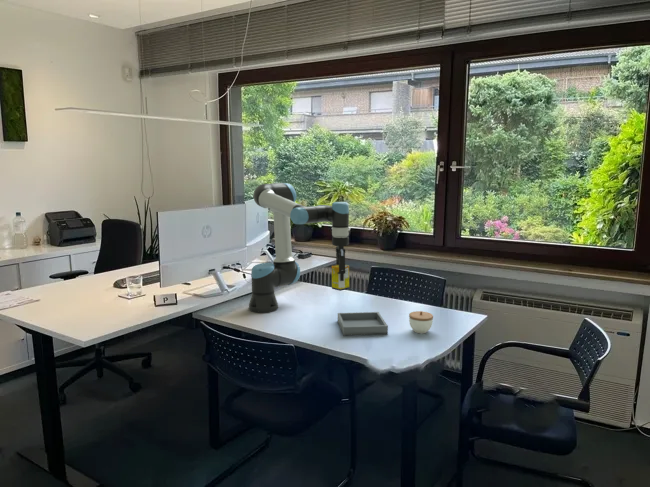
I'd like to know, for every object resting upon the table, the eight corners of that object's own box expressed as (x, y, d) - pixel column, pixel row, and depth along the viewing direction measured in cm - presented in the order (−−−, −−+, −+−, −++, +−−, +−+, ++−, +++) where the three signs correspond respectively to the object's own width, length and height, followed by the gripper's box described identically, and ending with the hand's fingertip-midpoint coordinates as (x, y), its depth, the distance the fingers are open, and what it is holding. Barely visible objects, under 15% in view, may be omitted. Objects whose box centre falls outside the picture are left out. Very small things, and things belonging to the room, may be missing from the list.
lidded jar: (427, 336, 217) (428, 316, 215) (404, 332, 222) (405, 312, 221) (435, 329, 226) (436, 310, 224) (413, 325, 231) (414, 306, 230)
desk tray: (337, 321, 237) (337, 313, 236) (378, 319, 239) (378, 311, 238) (343, 335, 217) (343, 327, 217) (387, 334, 219) (387, 325, 219)
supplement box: (340, 286, 230) (340, 263, 228) (349, 288, 226) (349, 265, 224) (331, 288, 226) (331, 265, 224) (340, 291, 222) (340, 267, 220)
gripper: (351, 239, 212) (351, 290, 216) (345, 232, 232) (345, 279, 236) (334, 240, 211) (334, 291, 215) (330, 233, 232) (330, 280, 236)
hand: (340, 285), depth 226 cm, fingers closed on supplement box, 8 cm apart
